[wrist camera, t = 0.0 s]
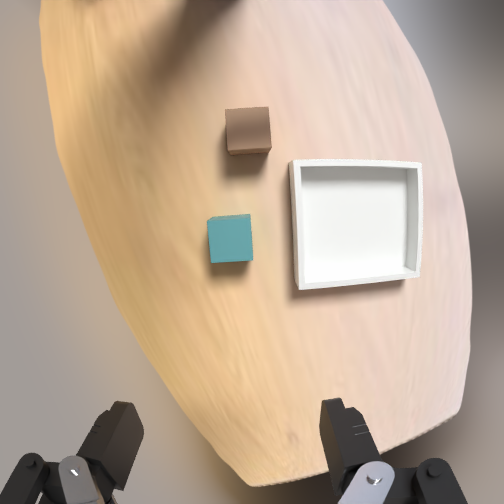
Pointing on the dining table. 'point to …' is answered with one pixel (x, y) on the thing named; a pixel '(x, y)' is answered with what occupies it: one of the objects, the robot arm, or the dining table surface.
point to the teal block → (230, 238)
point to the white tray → (355, 221)
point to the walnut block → (248, 130)
